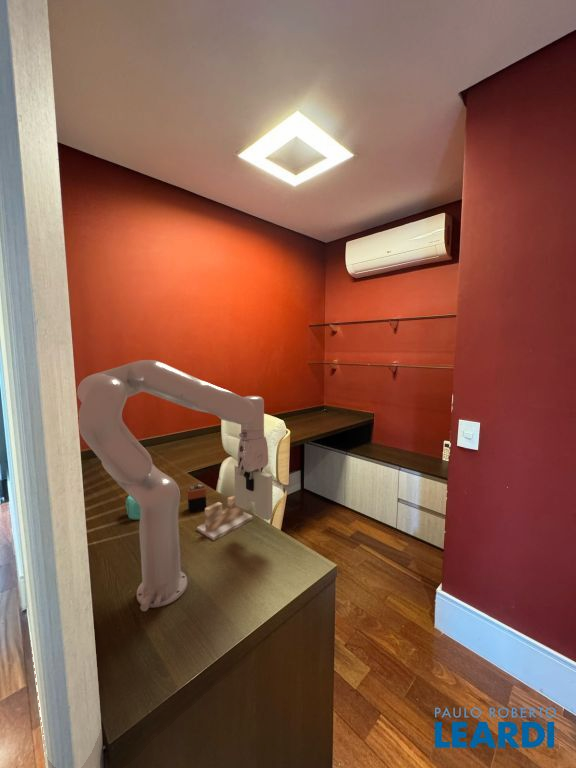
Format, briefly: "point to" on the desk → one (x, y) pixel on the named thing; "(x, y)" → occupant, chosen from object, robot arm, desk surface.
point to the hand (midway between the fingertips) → (252, 488)
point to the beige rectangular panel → (255, 493)
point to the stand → (223, 519)
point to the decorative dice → (132, 508)
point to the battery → (196, 498)
